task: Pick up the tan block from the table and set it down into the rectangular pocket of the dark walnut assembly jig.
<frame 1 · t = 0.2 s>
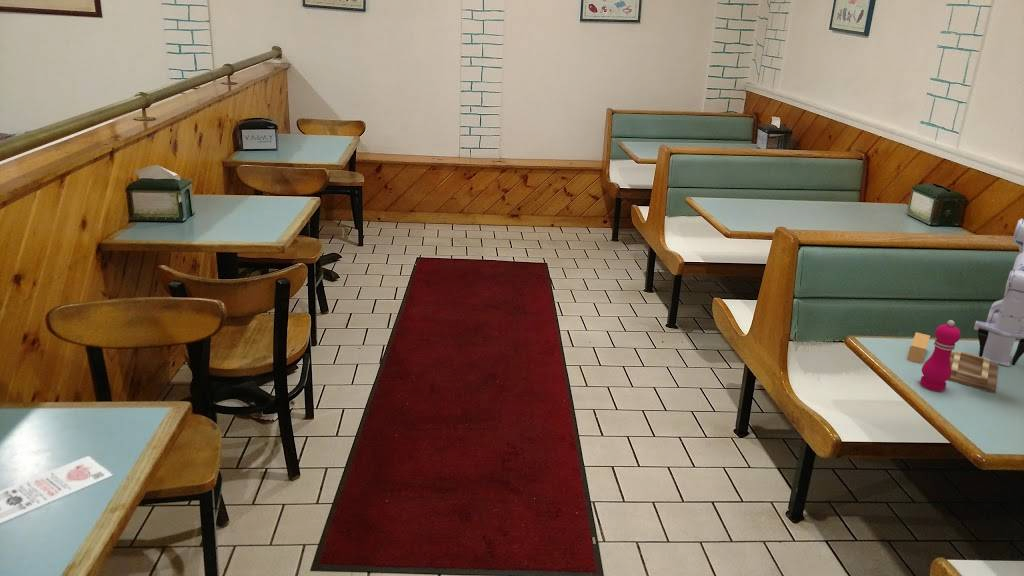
hand: (996, 359, 206), 10 cm above the table, fingers open, 7 cm apart
jig: (968, 372, 221), on the table
tan block: (916, 355, 230), on the table
pepper mill: (932, 386, 211), on the table
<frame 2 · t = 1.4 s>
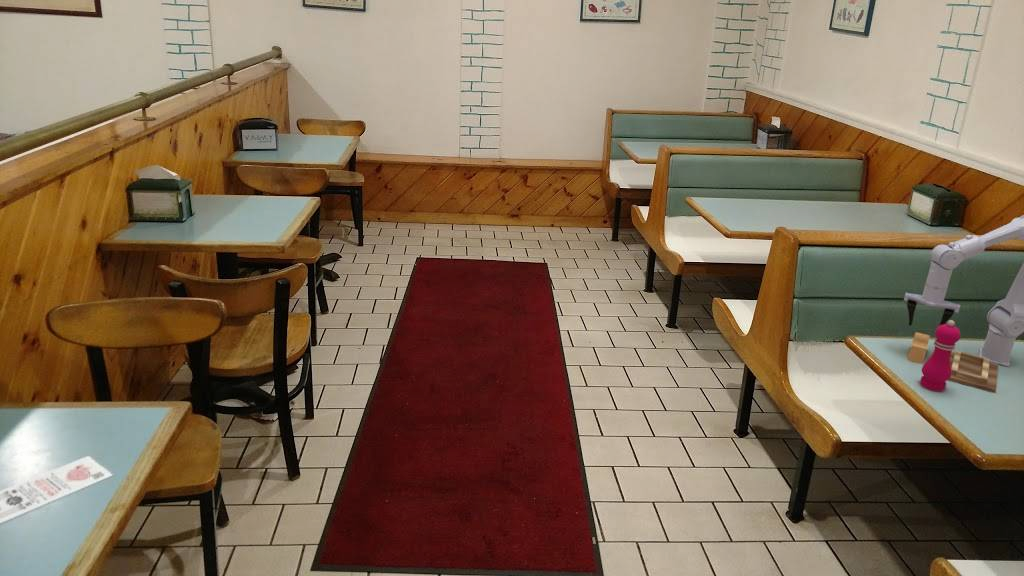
hand: (924, 328, 227), 9 cm above the table, fingers open, 7 cm apart
nothing on the table moved.
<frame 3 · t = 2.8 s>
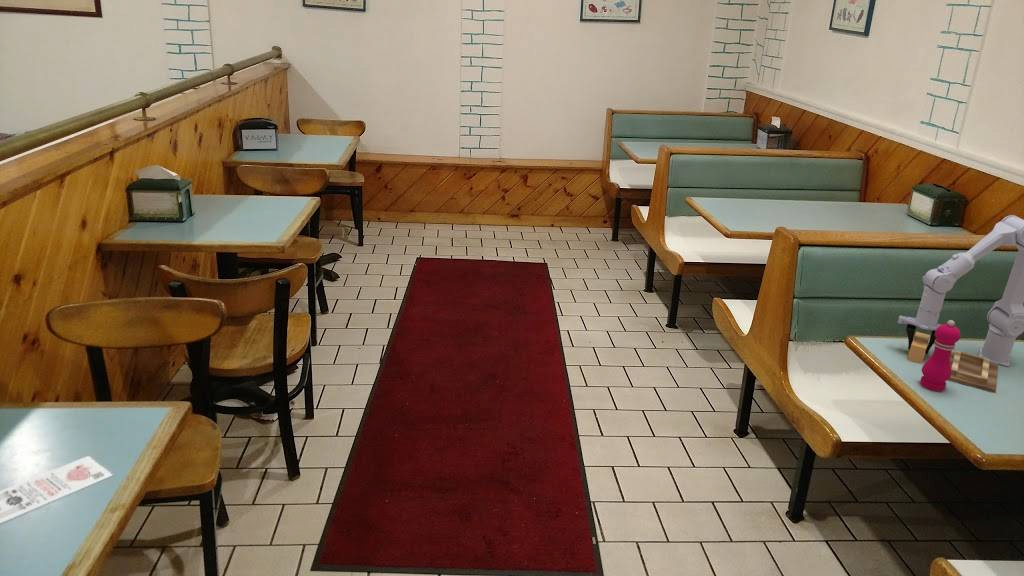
hand: (918, 350, 230), 1 cm above the table, fingers closed on tan block, 4 cm apart
tan block: (916, 354, 230), on the table, touching gripper
everything else where it was.
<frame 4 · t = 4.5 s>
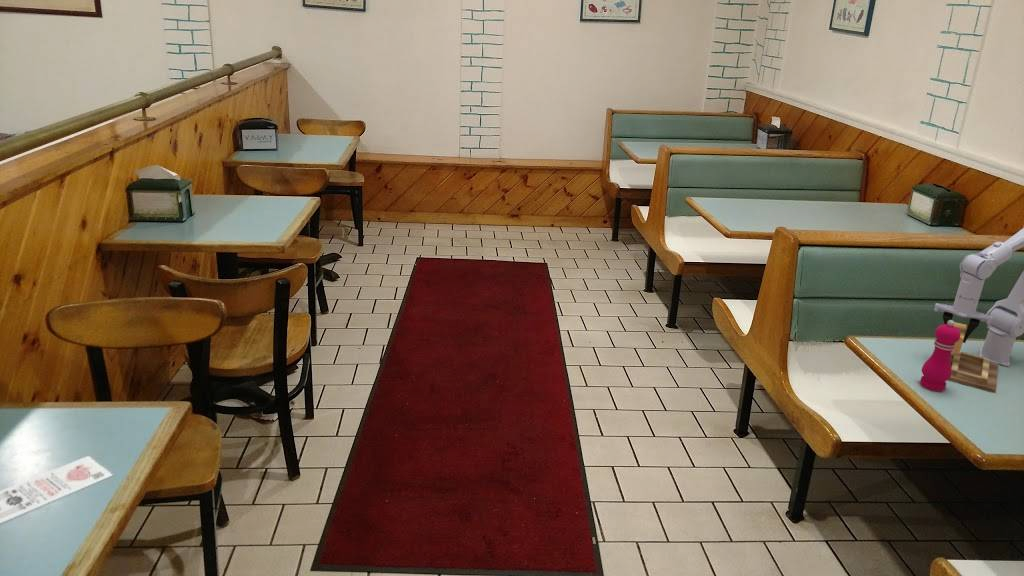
hand: (954, 339, 222), 8 cm above the table, fingers closed on tan block, 4 cm apart
tan block: (953, 345, 222), point 6 cm above the table, touching gripper
everything else where it was.
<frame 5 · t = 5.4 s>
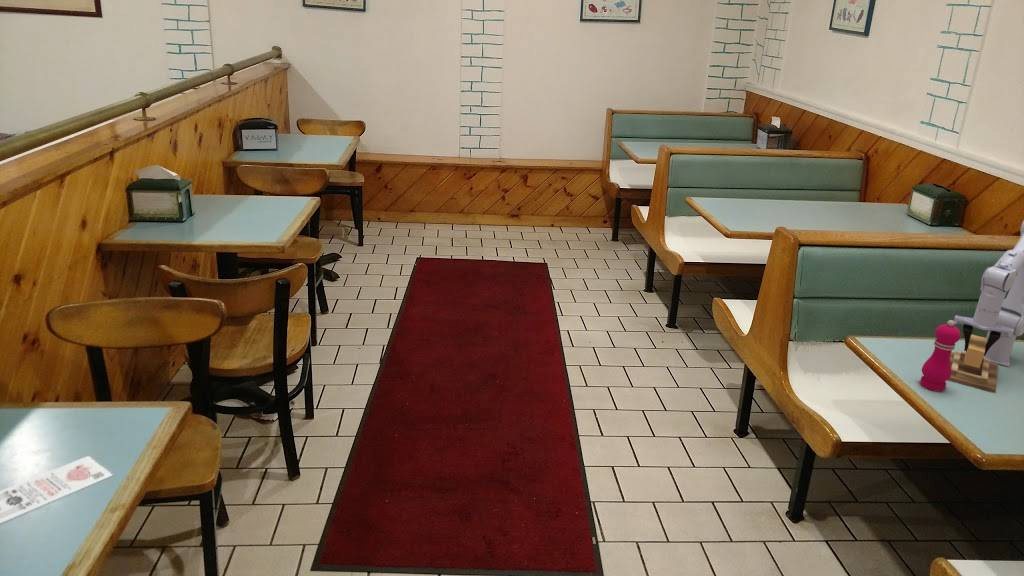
hand: (974, 352, 218), 6 cm above the table, fingers closed on tan block, 4 cm apart
tan block: (972, 358, 219), point 4 cm above the table, touching gripper
everything else where it was.
when the fingers open (4 cm above the table, at t = 6.2 s): tan block drops 1 cm, resting on jig.
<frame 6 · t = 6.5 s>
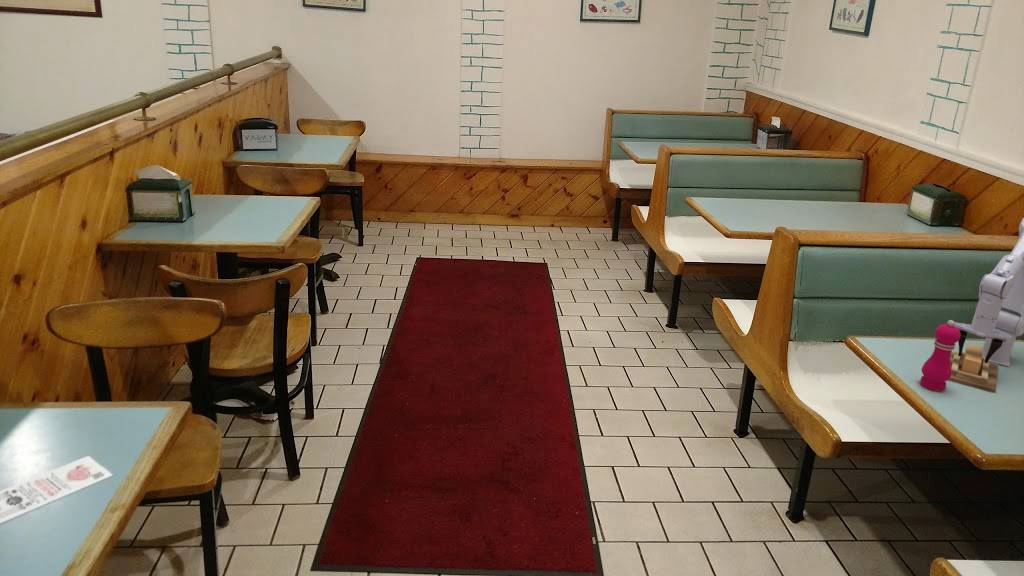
hand: (972, 358, 219), 4 cm above the table, fingers open, 6 cm apart
tan block: (969, 368, 221), point 1 cm above the table, touching jig
everything else where it was.
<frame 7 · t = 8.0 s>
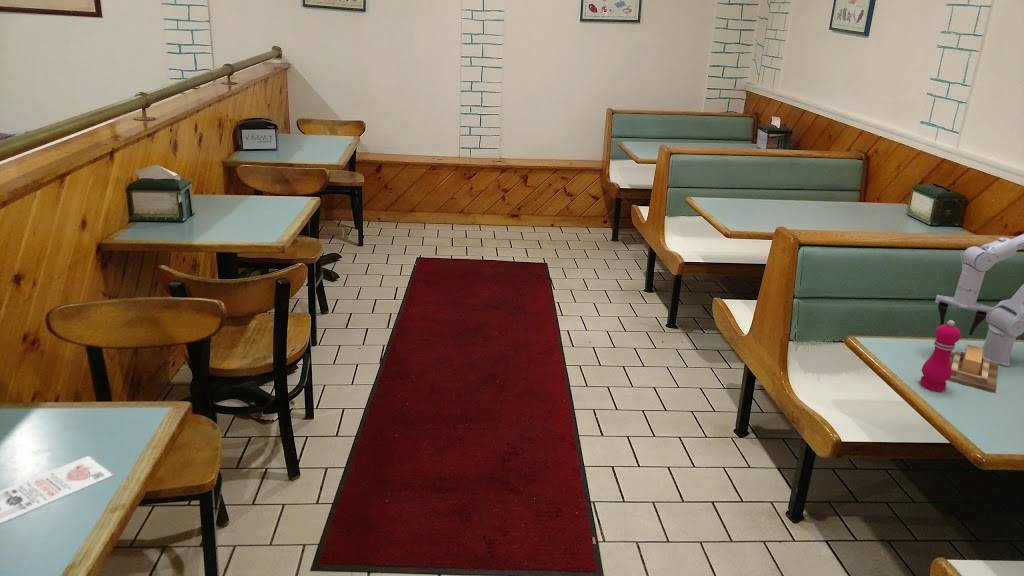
hand: (955, 330, 225), 9 cm above the table, fingers open, 7 cm apart
nothing on the table moved.
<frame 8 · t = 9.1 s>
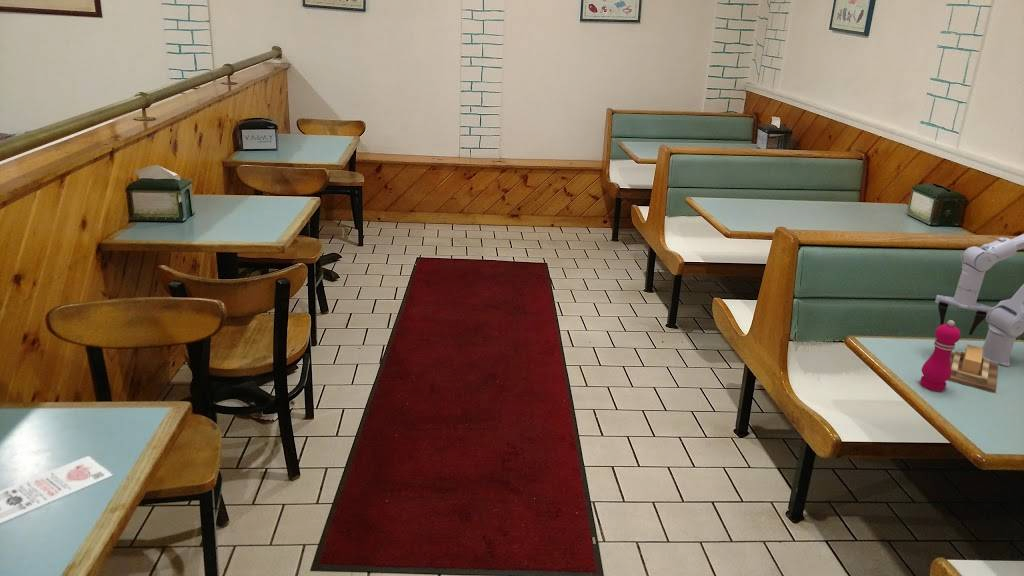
hand: (955, 330, 225), 9 cm above the table, fingers open, 7 cm apart
nothing on the table moved.
at the end: tan block 0.1 cm off-centre on the jig, point 1.0 cm above the jig's base; tan block tilted 0°; the gripper is holding nothing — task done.
